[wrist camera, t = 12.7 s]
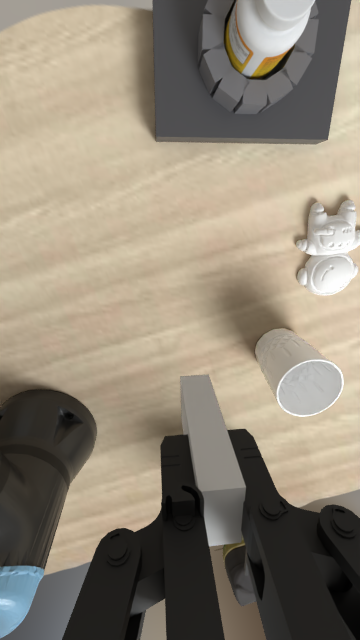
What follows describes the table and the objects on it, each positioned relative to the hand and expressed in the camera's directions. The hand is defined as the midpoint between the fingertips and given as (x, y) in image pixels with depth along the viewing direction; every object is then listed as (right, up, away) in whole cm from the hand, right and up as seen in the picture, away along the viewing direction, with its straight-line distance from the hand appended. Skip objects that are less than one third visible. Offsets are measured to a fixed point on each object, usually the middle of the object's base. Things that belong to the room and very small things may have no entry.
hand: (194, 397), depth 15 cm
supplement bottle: (+6, +29, +12) cm, 32 cm away
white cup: (+13, 0, +27) cm, 30 cm away
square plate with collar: (+6, +30, +14) cm, 34 cm away
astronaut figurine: (+18, +14, +22) cm, 32 cm away
